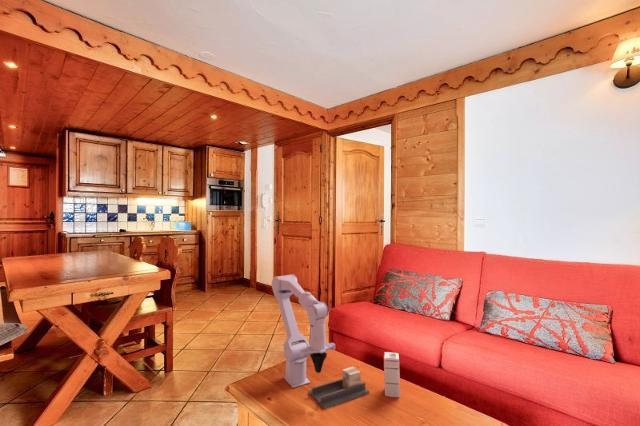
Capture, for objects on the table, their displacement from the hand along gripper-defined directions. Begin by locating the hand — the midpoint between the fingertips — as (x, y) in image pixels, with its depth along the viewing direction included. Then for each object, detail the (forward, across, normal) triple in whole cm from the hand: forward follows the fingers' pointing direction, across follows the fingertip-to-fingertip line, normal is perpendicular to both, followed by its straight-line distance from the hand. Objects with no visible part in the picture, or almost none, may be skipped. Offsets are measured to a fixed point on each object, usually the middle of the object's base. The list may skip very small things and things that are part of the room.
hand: (318, 371), depth 119 cm
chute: (+9, +8, -2) cm, 13 cm away
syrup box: (+10, +26, -12) cm, 30 cm away
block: (+8, +14, -2) cm, 16 cm away
